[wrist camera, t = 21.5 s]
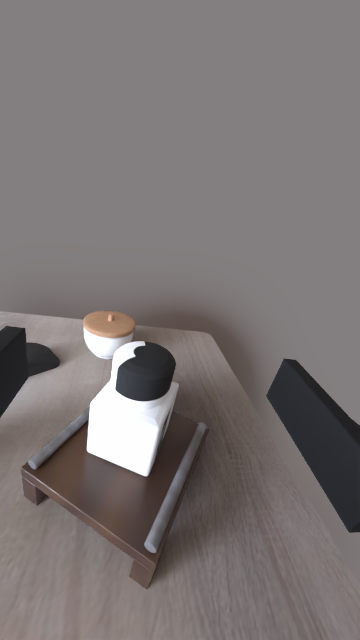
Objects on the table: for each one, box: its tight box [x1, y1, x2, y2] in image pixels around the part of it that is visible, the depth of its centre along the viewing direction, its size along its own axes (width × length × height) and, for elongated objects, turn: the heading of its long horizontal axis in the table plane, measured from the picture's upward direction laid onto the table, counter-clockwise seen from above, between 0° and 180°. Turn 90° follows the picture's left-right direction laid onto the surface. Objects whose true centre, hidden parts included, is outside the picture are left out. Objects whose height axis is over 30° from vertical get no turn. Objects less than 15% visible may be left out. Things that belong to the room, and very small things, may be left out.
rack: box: [21, 407, 209, 589], centre depth 30 cm, size 16×16×6 cm
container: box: [87, 341, 179, 476], centre depth 27 cm, size 8×8×13 cm
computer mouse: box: [26, 343, 59, 376], centre depth 43 cm, size 6×11×4 cm, turn 139°
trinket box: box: [83, 311, 135, 359], centre depth 52 cm, size 11×11×9 cm
